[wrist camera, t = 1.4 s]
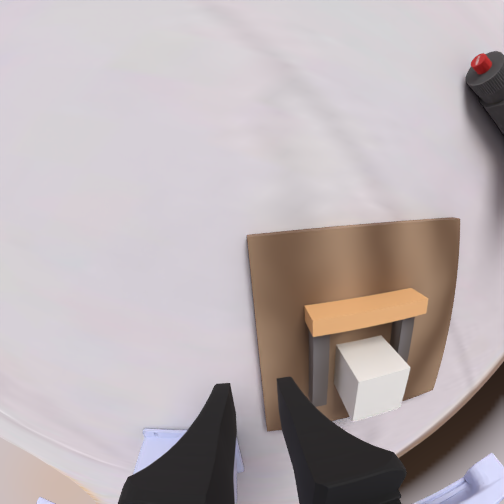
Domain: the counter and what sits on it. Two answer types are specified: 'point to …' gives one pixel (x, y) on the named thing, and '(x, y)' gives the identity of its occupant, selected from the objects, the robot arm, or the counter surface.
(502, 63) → the laser sight
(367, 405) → the white block
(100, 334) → the counter surface
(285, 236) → the base board
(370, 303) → the bar
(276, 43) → the counter surface
